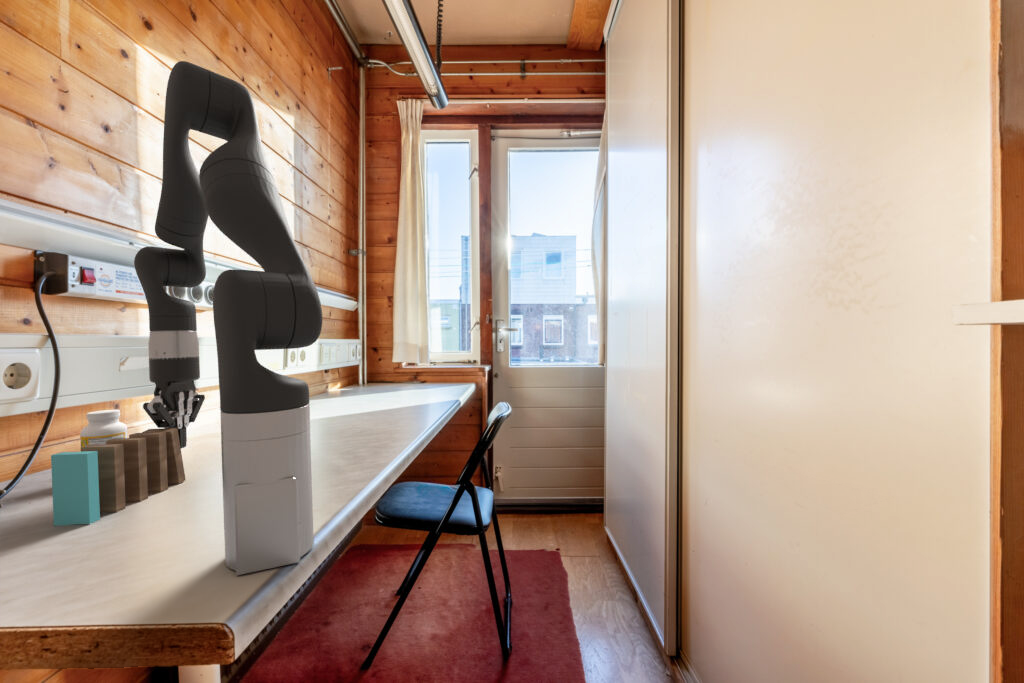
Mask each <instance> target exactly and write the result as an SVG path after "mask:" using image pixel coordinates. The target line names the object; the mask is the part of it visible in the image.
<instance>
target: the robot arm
mask: <svg viewBox="0 0 1024 683" xmlns="http://www.w3.org/2000/svg"><path fill="white" fill-rule="evenodd" d="M163 120H164V122H163V140H162V141H163V142H162V179H161V180H162V183H161V192H160V198H159V201H158V202H159V203H158V208H157V214H156V219H155V223H154V232H155V234H156V237H157V238H159V240H161V241H162V242H164V243H166V244H168V245H171V246H174V247H177V248H178V249H177V248H167V247H161V246H160V247H159V246H143V247H141V248H140V249H139V250H138V251H137V252H136V254H135V256H134V260H133V267H134V270H135V274H136V275H137V278H138V280H139V283H140V285H141V288H142V290H143V293H144V297H145V301H146V303H147V308H148V317H149V318H148V320H149V321H148V324H149V325H148V326H149V336H148V337H149V338H148V343H147V344H148V372H149V373H148V374H149V375H148V376H149V381H150V382H151V383H154V384H155V388H154V391H153V396H154V397H153V398H152V399H151V401H150V402H144V403H143V404H142V409H143V411H145V413H146V414H147V415H148V417H149V418H150V419H151V420H152V422H153V424H155V426H156V427H157V429H164V428H178V435H179V441H180V447H181V449H185V448H186V446H187V442H188V441H187V440H188V439H187V428H188V427H189V425H190V424H191V423H195V421H196V419H197V417H198V415H199V412H200V410H201V408H202V406H203V404H204V401H205V400H206V396H205V394H199V393H198V392H197V388H196V387H197V386H196V384H195V381H197V380H199V379H200V378H201V372H200V370H201V368H200V344H199V343H200V342H199V339H198V332H197V327H198V326H197V325H198V324H197V308H196V305H195V303H194V302H192V301H191V300H187V299H182V298H179V297H178V298H177V297H174V296H171V295H170V294H169V293H167V291H166V290H165V289H164V287H172V288H188V289H189V288H195V287H198V286H199V285H201V284H202V283H203V282H204V281H205V279H206V275H207V268H206V262H205V257H204V256H205V254H204V235H205V231H206V226H207V223H208V219H210V220H211V222H212V223H213V224H214V226H215V227H216V228H218V230H219V231H220V232H221V233H222V234H223V235H224V237H227V238H228V239H229V241H231V242H232V243H233V244H235V245H236V246H237V247H238V248H240V249H241V251H243V252H245V253H246V254H247V255H248V256H249V257H251V259H252V260H254V261H255V262H256V263H257V264H258V265H259V266H260V267H261V269H262V270H263V271H261V270H251V269H250V270H249V269H226V270H224V271H222V272H220V274H219V275H218V276H217V278H216V281H215V283H214V286H213V290H212V291H213V293H212V294H213V295H212V313H213V326H214V334H215V343H216V352H217V354H216V355H217V367H218V368H217V369H218V385H219V386H218V388H219V407H220V408H219V409H220V437H221V439H220V442H221V444H220V445H221V469H222V470H221V473H222V505H223V506H222V507H223V529H224V530H223V531H224V561H225V565H226V567H228V568H229V569H231V570H234V571H235V576H241V575H245V574H250V573H256V572H261V571H263V570H268V569H273V568H278V567H279V568H280V567H282V566H287V565H292V564H296V563H300V561H301V558H302V557H303V556H304V555H306V554H307V553H308V552H310V551H311V550H312V548H313V546H314V544H315V543H314V510H313V507H314V506H313V481H312V480H313V479H312V478H313V477H312V476H313V474H312V448H311V446H312V445H311V442H312V441H311V412H310V411H311V408H310V405H311V404H310V389H309V388H310V387H309V385H308V383H307V382H306V381H305V380H303V379H300V378H297V377H293V376H292V377H291V376H287V375H284V374H280V373H277V372H274V371H273V370H270V369H269V368H267V367H265V366H264V365H262V364H261V363H260V362H259V361H258V358H257V356H256V351H262V350H263V351H265V350H269V351H270V350H284V349H285V350H290V349H294V350H295V349H301V348H307V347H309V346H311V345H313V344H315V343H316V342H317V340H318V339H319V337H320V336H321V333H322V330H323V329H322V328H323V327H322V326H323V310H322V302H321V300H320V296H319V295H320V294H319V291H318V290H317V287H316V284H315V281H314V279H313V277H312V275H311V273H310V271H309V269H308V267H307V265H306V262H305V260H304V258H303V255H302V254H301V252H300V250H299V248H298V246H297V244H296V241H295V240H294V237H293V233H292V232H291V228H290V226H289V223H288V220H287V217H286V213H285V210H284V206H283V204H282V202H283V201H282V199H281V196H280V193H279V190H278V187H277V184H276V181H275V178H274V175H273V173H272V170H271V168H270V165H269V161H268V158H267V156H266V153H265V148H264V145H263V142H262V138H261V132H260V127H259V121H258V116H257V110H256V105H255V103H254V100H253V97H252V94H251V92H250V91H249V90H248V88H246V87H245V86H244V85H243V84H242V83H240V82H238V81H236V80H234V79H232V78H229V77H227V76H225V75H221V74H219V73H217V72H215V71H212V70H209V69H206V68H205V67H203V66H199V65H197V64H195V63H192V62H189V61H185V60H179V61H178V62H176V63H174V66H173V67H171V71H170V73H169V77H168V81H167V86H166V93H165V103H164V119H163ZM190 130H193V131H196V132H198V133H202V134H206V135H209V136H211V137H215V138H218V139H221V140H225V143H223V144H221V145H220V146H218V147H217V148H216V149H214V150H213V151H211V153H209V154H208V156H207V157H206V158H205V159H204V160H203V162H202V163H201V166H200V169H199V171H198V170H197V167H196V165H195V162H194V160H193V157H192V155H191V151H190V145H189V144H190V143H189V135H190ZM179 248H180V249H179Z"/></svg>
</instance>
